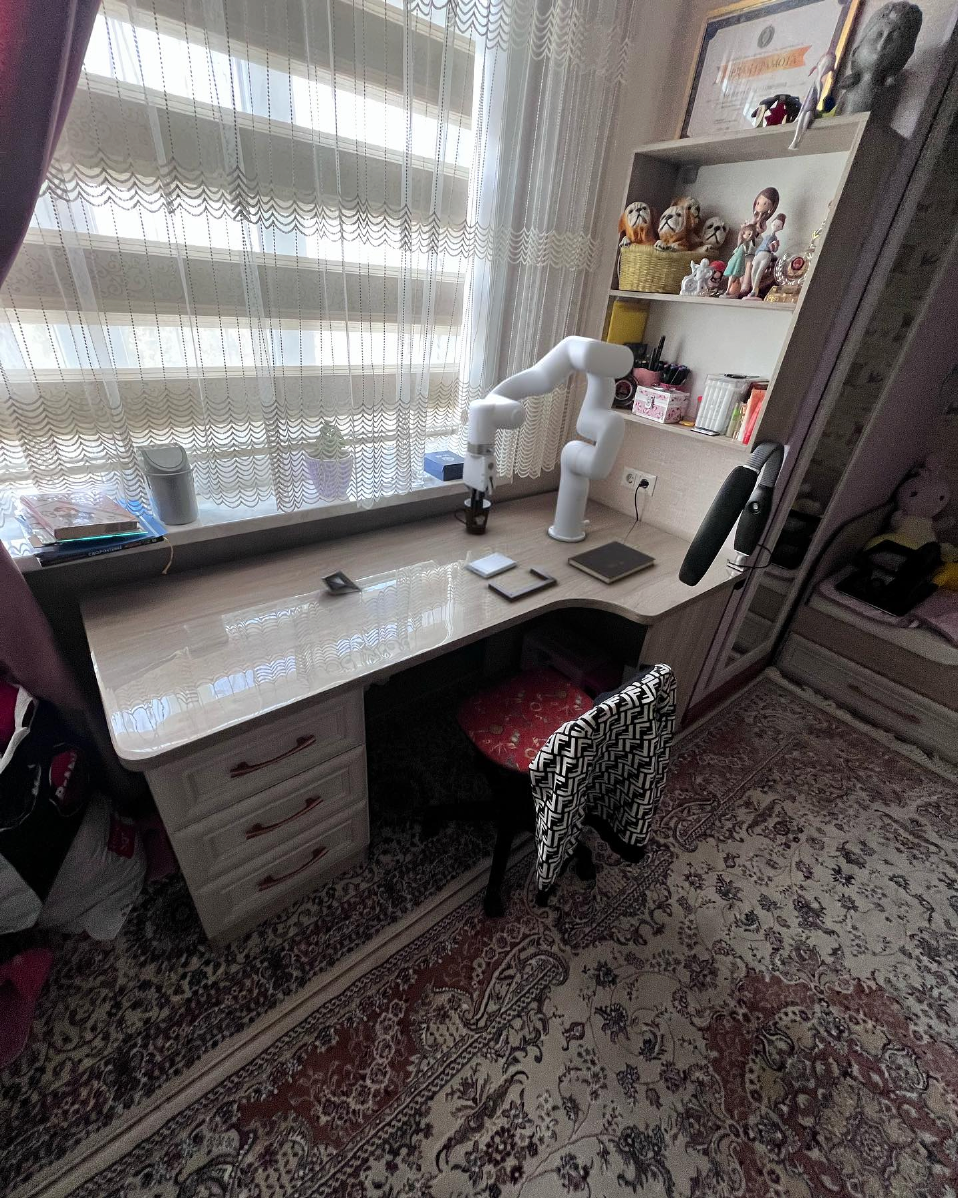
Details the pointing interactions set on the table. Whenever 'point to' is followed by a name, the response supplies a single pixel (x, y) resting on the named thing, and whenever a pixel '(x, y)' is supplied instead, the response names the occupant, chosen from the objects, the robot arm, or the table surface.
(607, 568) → the hardcover book
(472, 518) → the coffee mug
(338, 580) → the paper boat
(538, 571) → the dark brown open frame
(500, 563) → the hard drive
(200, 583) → the table surface
